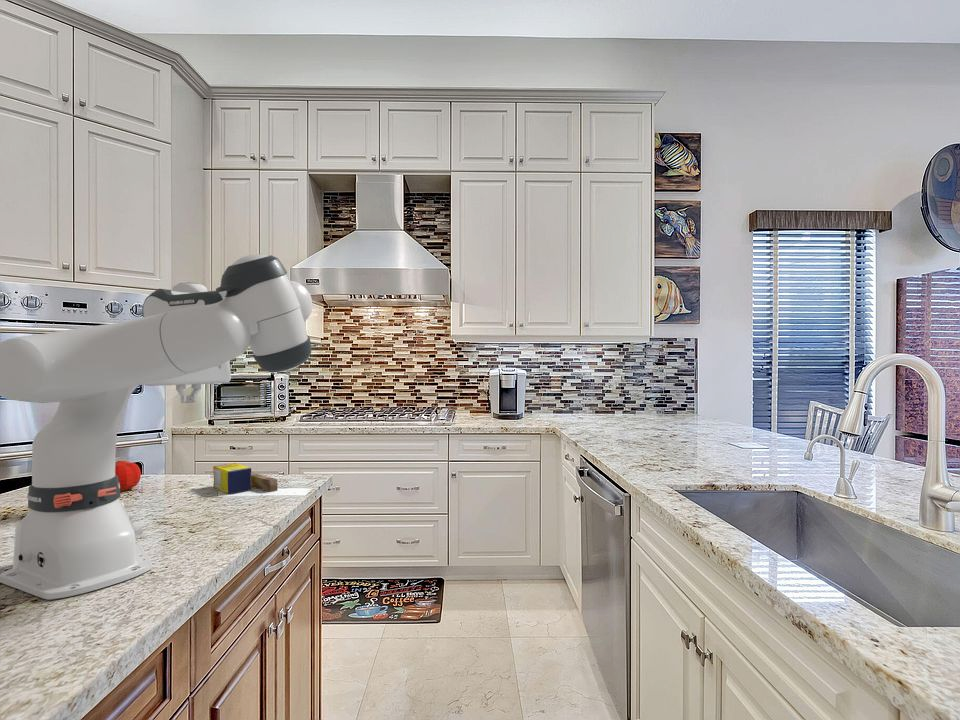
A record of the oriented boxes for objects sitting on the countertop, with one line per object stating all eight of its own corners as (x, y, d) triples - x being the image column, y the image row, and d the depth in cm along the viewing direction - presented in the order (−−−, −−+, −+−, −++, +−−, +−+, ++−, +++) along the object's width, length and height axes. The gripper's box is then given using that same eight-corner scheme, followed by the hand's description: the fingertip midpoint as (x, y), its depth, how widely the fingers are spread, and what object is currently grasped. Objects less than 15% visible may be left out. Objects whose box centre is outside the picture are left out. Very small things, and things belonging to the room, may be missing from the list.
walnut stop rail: (277, 490, 132) (277, 479, 132) (270, 491, 130) (270, 480, 130) (245, 481, 141) (245, 471, 141) (238, 482, 139) (238, 472, 139)
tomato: (88, 490, 131) (88, 462, 131) (137, 483, 138) (137, 457, 138) (92, 498, 123) (92, 468, 123) (144, 491, 130) (144, 462, 130)
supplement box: (252, 468, 132) (235, 462, 139) (228, 471, 127) (212, 465, 134) (252, 490, 132) (235, 483, 139) (228, 494, 127) (212, 487, 134)
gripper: (223, 349, 134) (223, 399, 134) (138, 347, 118) (137, 404, 118) (235, 348, 131) (235, 400, 131) (149, 346, 114) (148, 406, 114)
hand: (188, 402), depth 124 cm, fingers closed
